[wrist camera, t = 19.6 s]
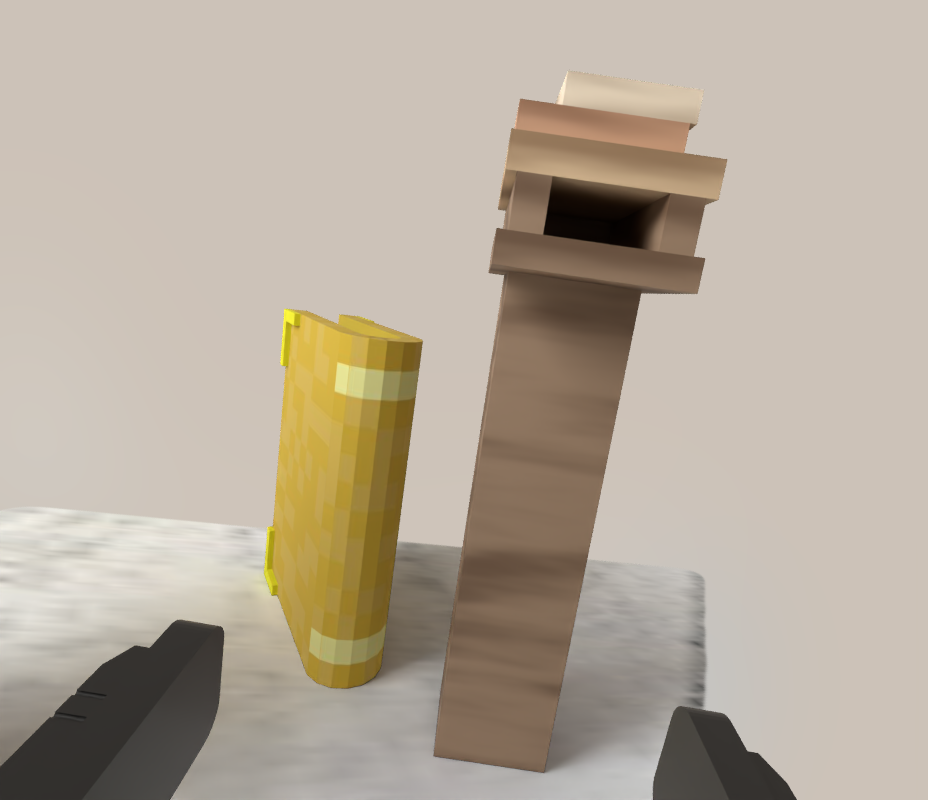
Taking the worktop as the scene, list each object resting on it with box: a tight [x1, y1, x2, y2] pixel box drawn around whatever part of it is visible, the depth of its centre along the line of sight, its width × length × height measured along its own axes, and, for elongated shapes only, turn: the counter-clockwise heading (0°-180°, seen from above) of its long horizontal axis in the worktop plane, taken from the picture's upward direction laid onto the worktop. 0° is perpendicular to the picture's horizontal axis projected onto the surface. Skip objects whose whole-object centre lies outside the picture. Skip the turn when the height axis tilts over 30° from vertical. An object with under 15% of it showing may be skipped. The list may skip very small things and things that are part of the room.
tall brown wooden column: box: [434, 71, 727, 773], centre depth 31 cm, size 12×9×39 cm
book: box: [264, 309, 423, 688], centre depth 44 cm, size 17×7×25 cm, turn 29°
